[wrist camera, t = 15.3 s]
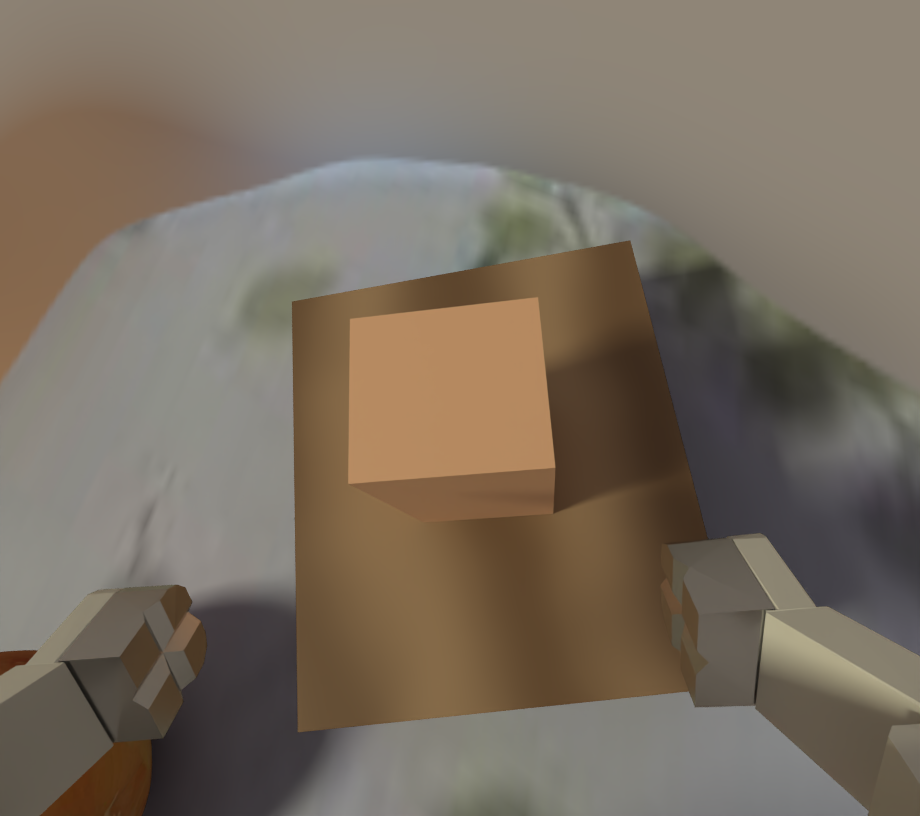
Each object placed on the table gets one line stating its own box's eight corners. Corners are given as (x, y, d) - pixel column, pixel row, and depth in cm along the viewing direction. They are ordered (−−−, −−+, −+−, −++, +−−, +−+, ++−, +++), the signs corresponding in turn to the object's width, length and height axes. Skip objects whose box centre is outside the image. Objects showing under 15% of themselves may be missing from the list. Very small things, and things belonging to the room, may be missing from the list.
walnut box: (356, 703, 24) (297, 732, 18) (340, 360, 30) (291, 301, 24) (696, 666, 23) (745, 685, 17) (613, 313, 28) (630, 240, 23)
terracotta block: (424, 522, 20) (348, 483, 13) (420, 413, 21) (350, 318, 14) (553, 513, 20) (555, 467, 12) (542, 402, 21) (538, 296, 13)
